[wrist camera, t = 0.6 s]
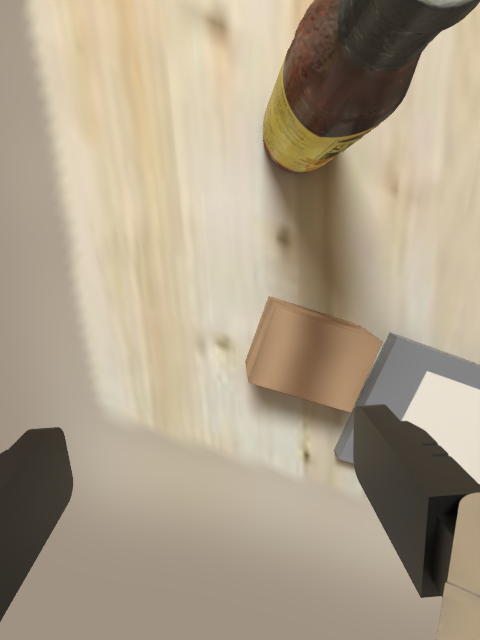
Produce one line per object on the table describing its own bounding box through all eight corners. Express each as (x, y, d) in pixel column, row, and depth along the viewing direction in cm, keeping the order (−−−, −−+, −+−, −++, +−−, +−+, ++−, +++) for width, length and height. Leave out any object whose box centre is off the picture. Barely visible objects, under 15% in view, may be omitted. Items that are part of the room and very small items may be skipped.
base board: (568, 397, 36) (583, 404, 35) (503, 502, 39) (514, 514, 37) (390, 332, 34) (398, 337, 32) (333, 450, 36) (338, 459, 35)
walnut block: (359, 325, 34) (382, 341, 29) (333, 387, 35) (351, 412, 30) (268, 295, 33) (276, 307, 28) (245, 360, 34) (248, 382, 29)
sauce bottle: (309, 190, 30) (458, 120, 11) (245, 148, 29) (287, -10, 10) (354, 116, 29) (609, -107, 10) (289, 69, 28) (430, -279, 9)
